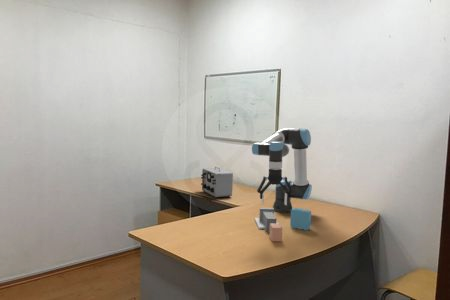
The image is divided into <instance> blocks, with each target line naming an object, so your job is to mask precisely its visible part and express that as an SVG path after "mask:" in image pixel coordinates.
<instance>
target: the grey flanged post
mask: <svg viewBox="0 0 450 300" xmlns="http://www.w3.org/2000/svg"><path fill="white" fill-rule="evenodd" d="M258 215H259V217H255V218H254V221H255V224H256V226H257V228H258V230H265V231H266V232H270V223H279V222H278V220H277V217H276V216H275V211H274V208H273V207H259V212H258Z"/></svg>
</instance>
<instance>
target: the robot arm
mask: <svg viewBox="0 0 450 300" xmlns="http://www.w3.org/2000/svg"><path fill="white" fill-rule="evenodd" d="M311 140H312V136H311V132H310V130H309V129H307V128H303V127H301V128H300V127H299V128H298V127H297V128H293V127H285V128H281V129H279V130H276V131H274V132H273V133H272V135H271V136H269V137H268V138H266V139H264V140H263V141H261V142H254V143H252V146H251V153H252V154H253V155H256V156H264V157H265V156H267V157H269V158H268V176H263V177H262V180H261V182H260V185H259V186H258V188H257V189H256V192H257V193H258V194H259V199H260V200H261V205H262V206H264V205H265V203H264V201H265V191H266V190H267V189H268V187H270V186H271V185H272V186H273V185H274V186H275V192H274V195H275V198H274V202H273V205H272V208H274V212H276V211H277V213H283V212H288V213H291V210H292V209H294V207H293V204H292V201H291V199H296V200H305V201H306V200H307V201H308V200H309V199H310V197H311V194H312V184H311V183H310V181H309V179H308V177H307V176H308V174H307V172H308V171H307V169H308V168H307V149H308V148H309V147H310V146H311V143H312V141H311ZM288 145H291V149H293V159H294V163H293V164H294V167H293V168H294V180H291V179H288V177H287V176H283V175H282V174H283V170H282V168H283V157H286V156H287V155H289V153H290V148H289V146H288ZM267 180H268V181H267ZM266 181H267V183H266ZM265 183H266V184H265ZM264 185H265V186H264Z"/></svg>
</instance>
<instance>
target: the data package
mask: <svg viewBox="0 0 450 300" xmlns="http://www.w3.org/2000/svg"><path fill="white" fill-rule="evenodd" d="M311 223H312V211H311V210H309V209H304V208H303V209H302V208H297V207H293V209H292V210H291V212H290V223H289V224H290V227H291V228H292V229H296V228H298V229H297V230H301V229H304V230H303V231H309V230H310V229H311V226H312V224H311Z"/></svg>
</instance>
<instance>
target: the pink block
mask: <svg viewBox="0 0 450 300" xmlns="http://www.w3.org/2000/svg"><path fill="white" fill-rule="evenodd" d="M269 239H270V241H271V242H283V226H282V225H281V223H279V222H278V223H270V231H269Z"/></svg>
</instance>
